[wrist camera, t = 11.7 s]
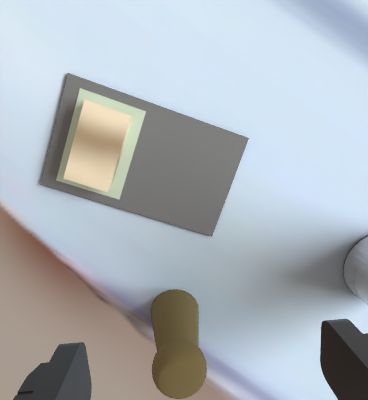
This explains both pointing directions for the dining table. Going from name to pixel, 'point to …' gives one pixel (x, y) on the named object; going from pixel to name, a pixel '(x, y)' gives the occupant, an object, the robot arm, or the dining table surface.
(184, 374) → the cork
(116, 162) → the maple tile
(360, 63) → the dining table surface
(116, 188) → the grey board
